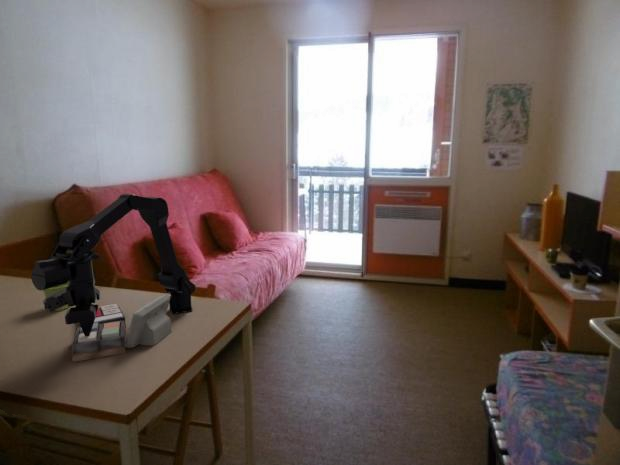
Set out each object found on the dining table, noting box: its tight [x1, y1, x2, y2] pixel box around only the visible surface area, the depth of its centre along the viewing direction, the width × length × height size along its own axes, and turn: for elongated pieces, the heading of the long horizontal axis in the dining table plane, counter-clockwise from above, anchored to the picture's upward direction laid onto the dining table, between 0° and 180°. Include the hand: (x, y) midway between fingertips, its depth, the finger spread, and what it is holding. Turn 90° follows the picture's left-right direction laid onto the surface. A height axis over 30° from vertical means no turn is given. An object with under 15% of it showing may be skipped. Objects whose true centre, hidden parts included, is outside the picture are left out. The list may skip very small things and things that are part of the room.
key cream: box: [78, 331, 97, 343], centre depth 106 cm, size 4×4×2 cm
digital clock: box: [125, 294, 172, 349], centre depth 114 cm, size 16×9×11 cm, turn 157°
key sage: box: [102, 327, 120, 339], centre depth 108 cm, size 4×4×2 cm
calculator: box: [94, 303, 127, 328], centre depth 125 cm, size 11×4×15 cm
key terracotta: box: [103, 322, 120, 329], centre depth 113 cm, size 4×4×2 cm
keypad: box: [71, 319, 127, 362], centre depth 110 cm, size 12×14×4 cm
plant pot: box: [42, 282, 70, 312], centre depth 137 cm, size 9×9×9 cm
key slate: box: [80, 322, 99, 334], centre depth 111 cm, size 4×4×2 cm
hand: (87, 335), depth 106 cm, fingers closed, pressing on key cream
